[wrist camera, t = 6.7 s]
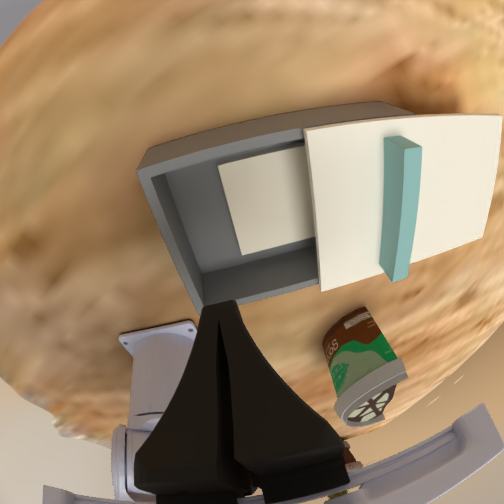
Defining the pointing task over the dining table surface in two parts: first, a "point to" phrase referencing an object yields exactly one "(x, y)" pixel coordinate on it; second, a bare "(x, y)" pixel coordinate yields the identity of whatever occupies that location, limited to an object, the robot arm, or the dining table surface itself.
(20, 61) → the dining table surface
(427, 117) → the lid
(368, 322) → the food container
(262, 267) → the grey sliding-lid box
